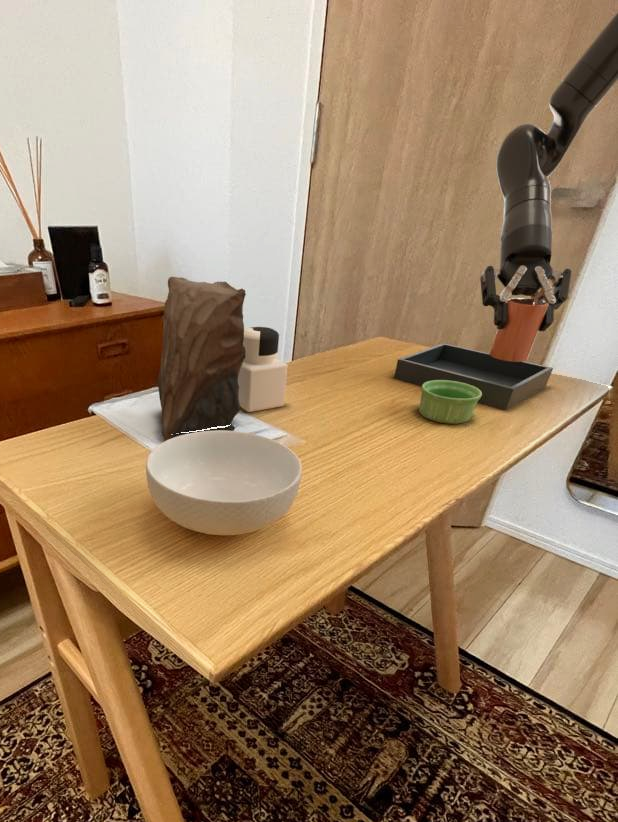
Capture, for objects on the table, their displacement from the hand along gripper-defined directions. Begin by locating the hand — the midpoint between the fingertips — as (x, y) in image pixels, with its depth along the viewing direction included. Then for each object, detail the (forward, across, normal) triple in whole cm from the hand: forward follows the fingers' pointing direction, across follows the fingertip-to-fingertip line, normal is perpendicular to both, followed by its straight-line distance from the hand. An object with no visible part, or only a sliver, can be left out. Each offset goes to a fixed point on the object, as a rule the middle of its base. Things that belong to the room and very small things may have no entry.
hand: (523, 327), depth 83 cm
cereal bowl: (+42, -45, -26) cm, 67 cm away
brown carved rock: (+25, -53, -9) cm, 60 cm away
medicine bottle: (+17, -44, -1) cm, 47 cm away
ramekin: (+17, -12, -1) cm, 21 cm away
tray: (+4, -4, +12) cm, 13 cm away
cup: (+3, 0, +5) cm, 6 cm away
